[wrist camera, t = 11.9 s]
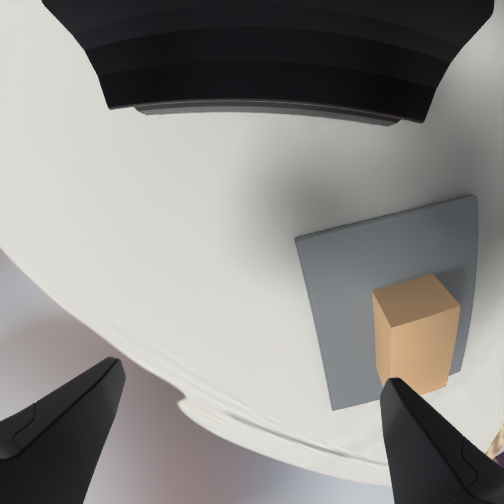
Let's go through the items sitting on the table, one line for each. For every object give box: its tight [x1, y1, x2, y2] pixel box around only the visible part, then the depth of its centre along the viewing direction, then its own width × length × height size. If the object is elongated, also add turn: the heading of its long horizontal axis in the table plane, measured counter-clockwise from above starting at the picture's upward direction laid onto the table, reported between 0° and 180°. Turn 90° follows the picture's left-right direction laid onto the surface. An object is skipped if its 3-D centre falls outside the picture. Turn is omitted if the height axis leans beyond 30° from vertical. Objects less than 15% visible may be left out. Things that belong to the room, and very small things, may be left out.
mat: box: [295, 195, 478, 411], centre depth 21 cm, size 18×14×1 cm
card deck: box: [372, 274, 461, 396], centre depth 19 cm, size 5×8×4 cm, turn 16°
